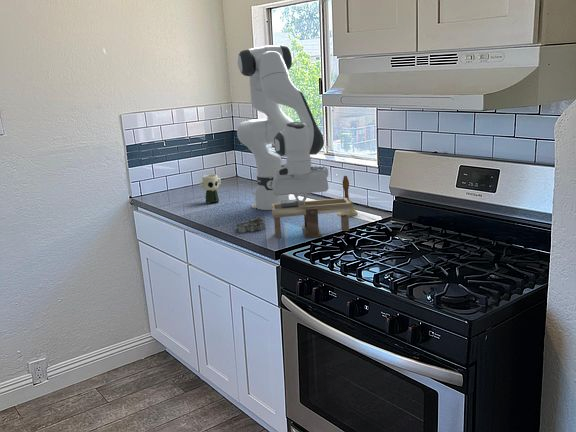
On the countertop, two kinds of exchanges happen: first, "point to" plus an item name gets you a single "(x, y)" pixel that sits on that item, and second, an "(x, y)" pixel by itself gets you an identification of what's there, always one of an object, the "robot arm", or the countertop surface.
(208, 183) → the spiky head figurine
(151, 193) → the countertop surface
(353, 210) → the hand bell
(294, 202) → the steel block
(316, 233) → the beam stand
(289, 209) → the beam
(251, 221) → the egg carton
